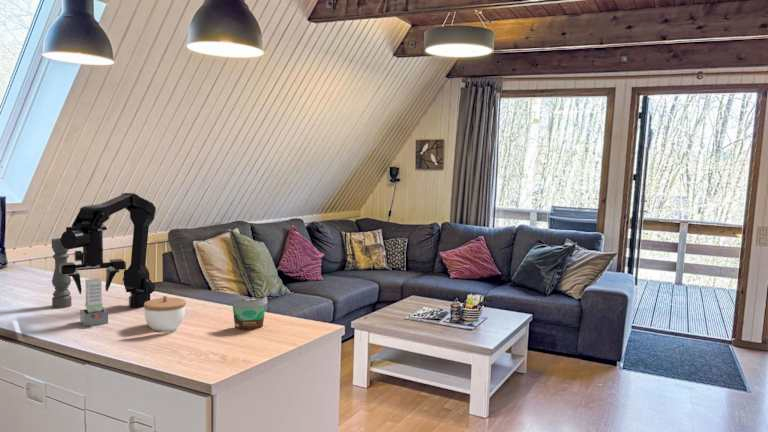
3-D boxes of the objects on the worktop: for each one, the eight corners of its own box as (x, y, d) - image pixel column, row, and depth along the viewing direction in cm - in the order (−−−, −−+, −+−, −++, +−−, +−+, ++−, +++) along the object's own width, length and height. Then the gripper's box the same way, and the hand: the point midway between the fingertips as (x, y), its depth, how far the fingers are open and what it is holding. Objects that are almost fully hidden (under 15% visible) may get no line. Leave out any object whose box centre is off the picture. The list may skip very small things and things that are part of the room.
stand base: (112, 317, 191) (112, 303, 191) (122, 327, 180) (122, 312, 179) (66, 323, 182) (66, 309, 182) (73, 334, 171) (73, 318, 171)
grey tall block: (99, 309, 184) (99, 278, 183) (102, 312, 180) (102, 280, 179) (85, 311, 181) (84, 279, 180) (87, 314, 178) (87, 282, 177)
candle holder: (48, 306, 202) (46, 239, 200) (63, 303, 208) (62, 237, 206) (60, 309, 200) (58, 240, 198) (75, 305, 206) (74, 238, 204)
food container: (234, 332, 178) (234, 302, 177) (230, 327, 184) (230, 298, 183) (271, 328, 184) (272, 299, 183) (266, 323, 189) (267, 295, 189)
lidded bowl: (144, 325, 183) (143, 293, 182) (184, 322, 188) (184, 290, 187) (143, 337, 171) (143, 302, 170) (186, 333, 176) (186, 299, 175)
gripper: (118, 240, 191) (118, 284, 192) (56, 243, 180) (57, 290, 181) (126, 244, 182) (126, 291, 183) (61, 248, 171) (62, 297, 172)
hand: (93, 292), depth 180 cm, fingers open, 7 cm apart
